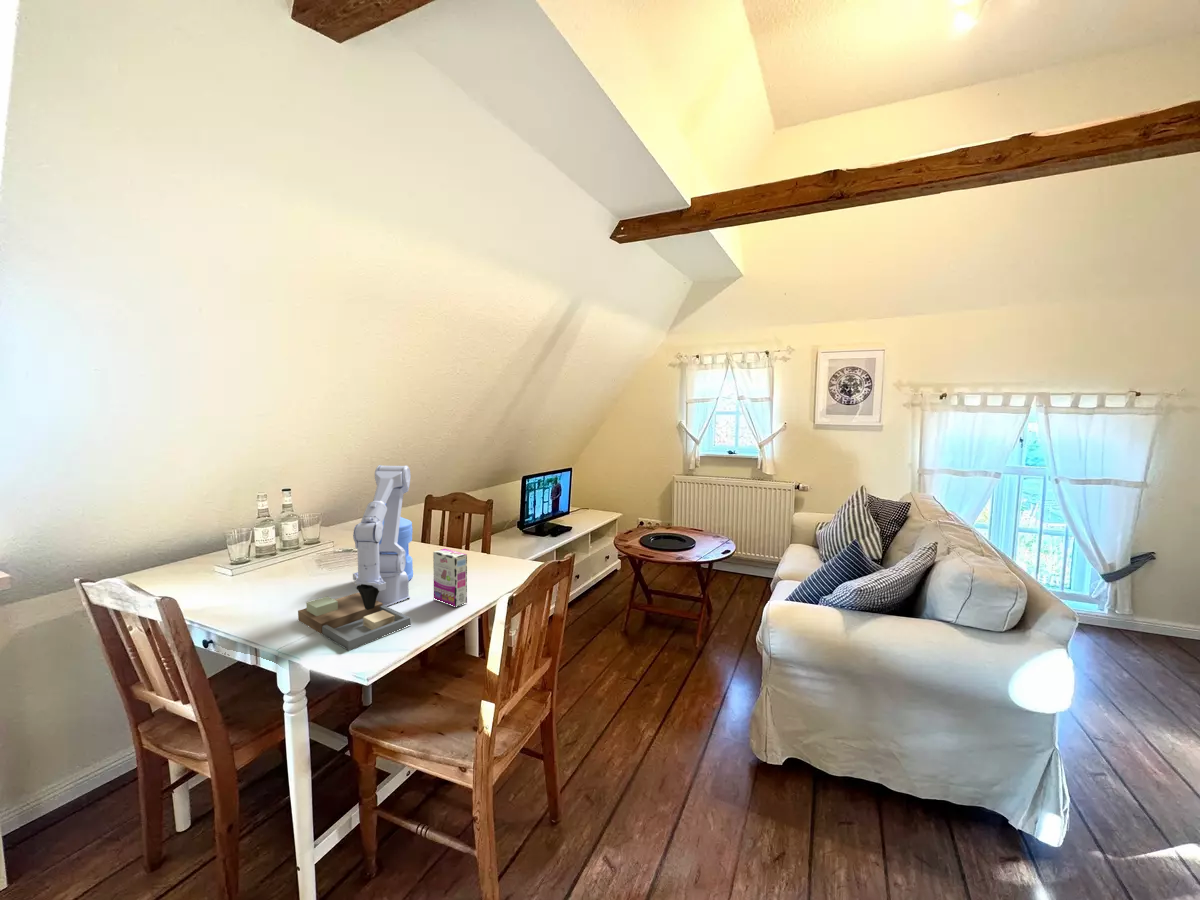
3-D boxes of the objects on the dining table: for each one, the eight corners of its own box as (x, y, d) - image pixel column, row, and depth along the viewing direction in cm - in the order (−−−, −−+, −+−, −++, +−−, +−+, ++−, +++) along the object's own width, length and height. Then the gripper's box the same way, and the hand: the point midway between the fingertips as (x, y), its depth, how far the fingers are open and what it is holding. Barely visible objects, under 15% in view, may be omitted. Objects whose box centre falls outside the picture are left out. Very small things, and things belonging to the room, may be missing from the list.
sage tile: (327, 604, 148) (327, 596, 148) (337, 609, 145) (337, 601, 144) (306, 610, 143) (306, 602, 143) (316, 616, 140) (316, 607, 140)
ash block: (394, 615, 141) (394, 623, 141) (383, 610, 145) (383, 618, 145) (374, 622, 136) (374, 631, 137) (363, 616, 140) (363, 625, 140)
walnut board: (358, 601, 158) (358, 592, 158) (382, 612, 150) (382, 603, 150) (298, 620, 144) (298, 610, 143) (321, 634, 135) (321, 623, 135)
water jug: (380, 591, 167) (379, 510, 164) (357, 580, 176) (355, 503, 174) (421, 579, 179) (420, 503, 177) (398, 569, 189) (397, 497, 186)
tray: (383, 613, 150) (383, 605, 149) (410, 625, 142) (410, 617, 141) (322, 634, 135) (322, 626, 135) (348, 650, 127) (348, 641, 127)
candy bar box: (468, 603, 158) (467, 553, 157) (455, 608, 154) (455, 557, 153) (445, 595, 165) (444, 547, 163) (432, 600, 160) (432, 551, 159)
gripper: (342, 561, 143) (343, 606, 145) (368, 572, 135) (369, 619, 136) (365, 555, 149) (366, 599, 150) (392, 565, 141) (393, 611, 142)
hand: (369, 608), depth 144 cm, fingers closed
